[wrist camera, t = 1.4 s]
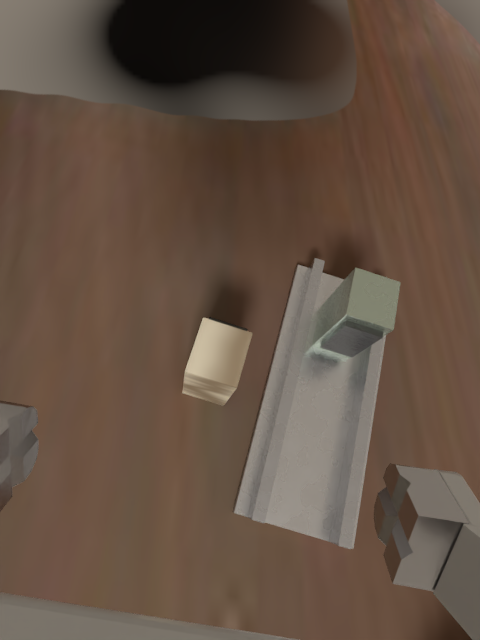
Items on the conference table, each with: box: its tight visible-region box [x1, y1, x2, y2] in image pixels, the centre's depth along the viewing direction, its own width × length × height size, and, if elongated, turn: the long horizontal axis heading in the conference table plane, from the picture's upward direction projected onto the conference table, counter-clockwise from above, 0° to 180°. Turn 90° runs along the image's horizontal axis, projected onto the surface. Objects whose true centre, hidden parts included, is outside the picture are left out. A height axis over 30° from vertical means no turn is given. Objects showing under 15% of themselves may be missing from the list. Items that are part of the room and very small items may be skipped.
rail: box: [233, 258, 400, 549], centre depth 40 cm, size 12×28×11 cm, turn 164°
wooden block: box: [183, 317, 252, 406], centre depth 40 cm, size 4×6×10 cm
